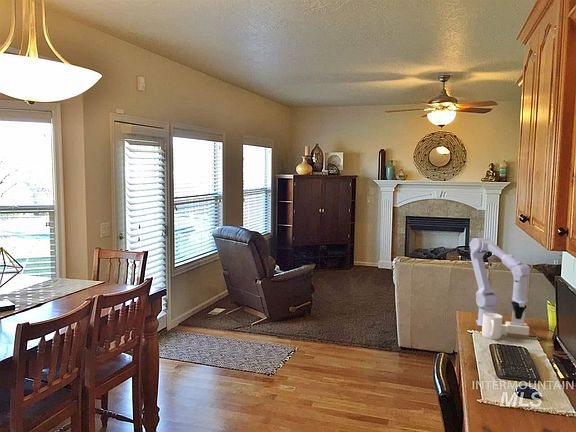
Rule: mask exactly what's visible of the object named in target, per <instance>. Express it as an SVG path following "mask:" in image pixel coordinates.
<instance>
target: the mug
mask: <svg viewBox="0 0 576 432" xmlns="http://www.w3.org/2000/svg"><path fill="white" fill-rule="evenodd" d="M502 324H503V315H501V314H499V313H495V312H494V313H484V314H483V324H482V326H481V336H482V337H483V336H484V338H486V339H488V340H500V339H501V337H502V335H501V330H502Z"/></svg>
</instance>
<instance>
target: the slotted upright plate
mask: <svg viewBox="0 0 576 432" xmlns="http://www.w3.org/2000/svg"><path fill="white" fill-rule="evenodd" d="M511 322H512V321H507V320H506V321H505V323H504V324H503V323H502V330H501V336H506V337H507V338H514V339H522V340H529V337H530V336H529V334H530V326H529V325H528V324H527V323H525V322H524V326H518V325H511Z"/></svg>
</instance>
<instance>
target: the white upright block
mask: <svg viewBox="0 0 576 432" xmlns="http://www.w3.org/2000/svg"><path fill="white" fill-rule="evenodd" d="M525 314H526V312H525V311H524V312H523V314H522V318H521V319H516V317H515V310H514V309H512V312H511V321H510V322H511V325H518V326H524V323H525V318H526V317H525V316H526V315H525Z"/></svg>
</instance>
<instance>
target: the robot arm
mask: <svg viewBox="0 0 576 432" xmlns="http://www.w3.org/2000/svg"><path fill="white" fill-rule="evenodd" d="M469 248H470V254H469V255H470V258H471V263H472V267H473V272H474V276H475V280H476V283H477V287H478V290H477V291H476V293H475V302H476V305H477V308H478V316H477V319H475V322H476V324H477V326H478V327H482V324H483V314H484V313H495V309H496V306H497V305H499V297H498V296H497V294H496V291H495V290H494V289H493V288H491V285H490V282H489V281H490V280H489V278H488V274H487V269H486V266H485V262H484V258H483V257H484V255H485V254H487V253H488V252H490V253H491V254H493V256H494V255H495V257H497V258H499V259H500V260H501V263H502V265H504V266H505V267H506V268H507V269H509V270H510V271H511V274H512V276H513V277H512V278H513V289H512V297H511V300H512V301H511V302H510V303H511V305H512V308H513V309H512V310H515V317H516V319H521V318H522V314H523V312H525V310H526V308H528V307H527V305H526V303H527V302H529V299H527V290H528V278H529V277H528V276H530V275H531V272H532V269H531V267H530V266H529V265H528V264H527V263H522V261H521V260H518V259H517V257H516V258H515V255H514V254H510V253H509V254H507V253H505V251H503V250H502V249H501V248H500V247H499V246H498V245H497V244H496V243H495V241H494V240H492V239H491V238H489V237H483V238H481V237H480V238H478V237H477V238H476V237H475V238H472V239H471V240H470V242H469Z"/></svg>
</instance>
